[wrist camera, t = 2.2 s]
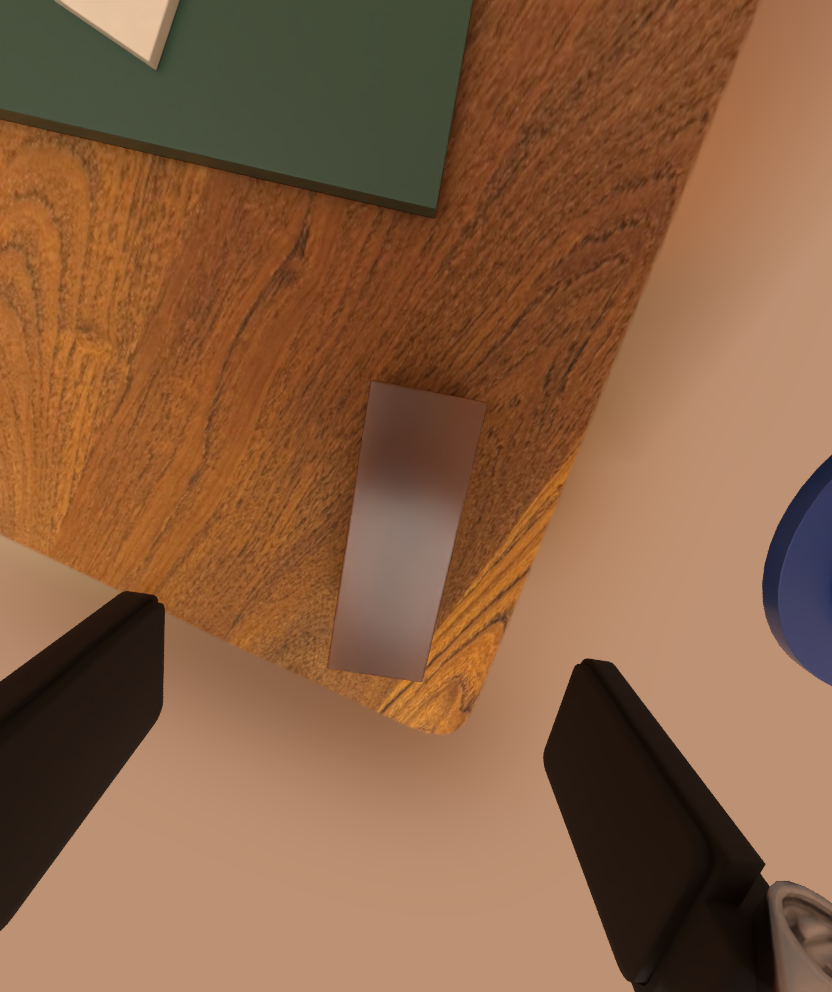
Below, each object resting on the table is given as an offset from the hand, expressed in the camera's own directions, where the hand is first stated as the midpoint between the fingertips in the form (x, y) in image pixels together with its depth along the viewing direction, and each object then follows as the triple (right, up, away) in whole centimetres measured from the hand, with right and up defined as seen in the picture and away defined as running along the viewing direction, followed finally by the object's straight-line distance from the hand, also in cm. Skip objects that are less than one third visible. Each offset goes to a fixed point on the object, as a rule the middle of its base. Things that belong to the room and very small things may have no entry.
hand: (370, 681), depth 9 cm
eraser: (0, +4, +13) cm, 13 cm away
